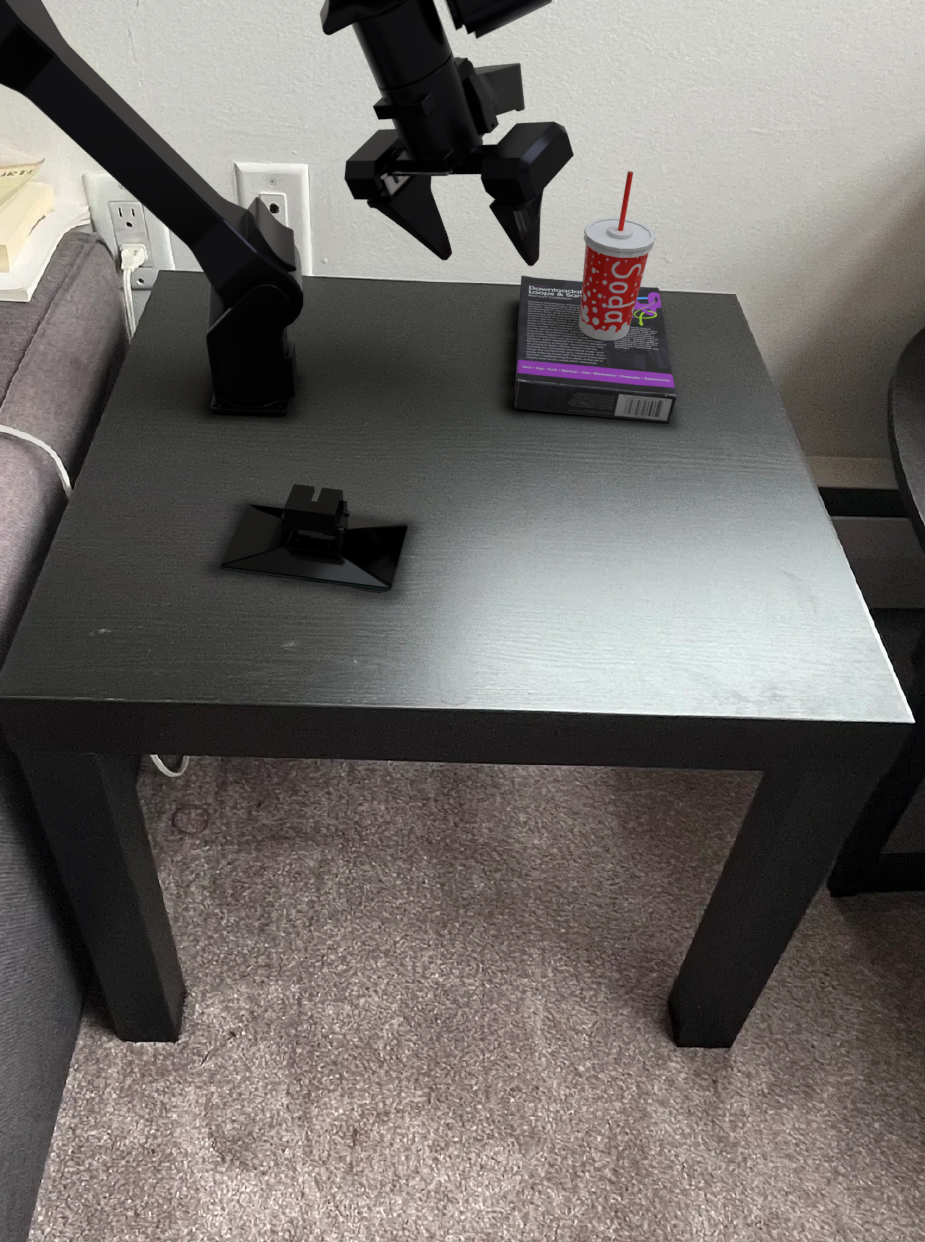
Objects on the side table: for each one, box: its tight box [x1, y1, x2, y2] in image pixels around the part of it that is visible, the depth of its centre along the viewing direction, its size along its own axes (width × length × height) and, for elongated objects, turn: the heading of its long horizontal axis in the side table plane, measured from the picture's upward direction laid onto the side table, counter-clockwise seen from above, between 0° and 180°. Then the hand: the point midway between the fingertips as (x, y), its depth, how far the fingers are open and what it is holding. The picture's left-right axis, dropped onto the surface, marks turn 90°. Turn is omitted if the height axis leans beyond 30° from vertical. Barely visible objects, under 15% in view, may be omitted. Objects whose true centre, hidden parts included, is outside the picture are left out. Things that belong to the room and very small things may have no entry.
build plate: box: [220, 483, 409, 593], centre depth 71 cm, size 12×7×5 cm, turn 82°
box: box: [514, 275, 678, 424], centre depth 91 cm, size 14×4×20 cm
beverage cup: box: [579, 170, 657, 341], centre depth 85 cm, size 6×6×14 cm
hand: (489, 260), depth 80 cm, fingers open, 9 cm apart
